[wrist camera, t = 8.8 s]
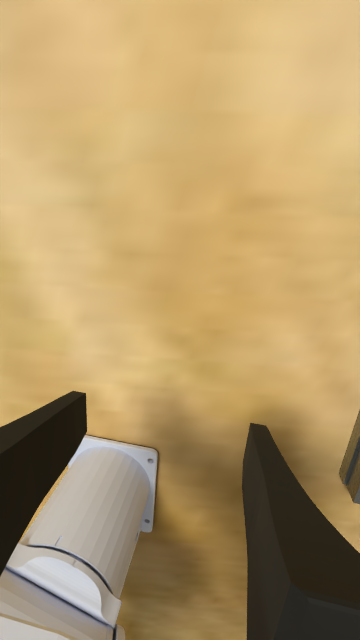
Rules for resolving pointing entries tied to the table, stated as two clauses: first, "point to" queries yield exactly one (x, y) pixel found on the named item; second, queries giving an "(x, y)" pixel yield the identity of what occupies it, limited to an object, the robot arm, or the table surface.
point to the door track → (352, 464)
